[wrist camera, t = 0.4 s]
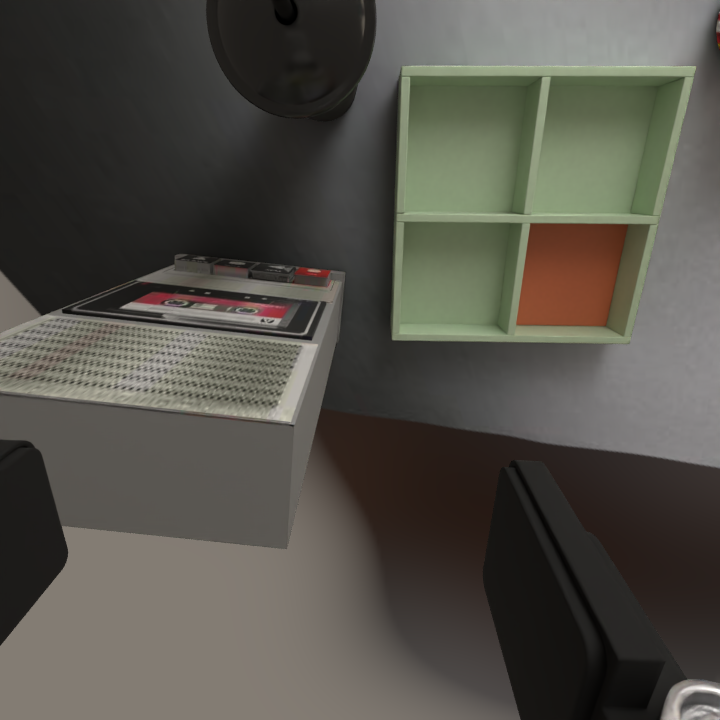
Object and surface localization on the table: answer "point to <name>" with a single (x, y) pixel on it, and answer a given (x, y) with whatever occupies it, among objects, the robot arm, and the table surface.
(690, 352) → the table surface
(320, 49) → the drinking cup
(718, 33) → the soda can
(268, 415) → the cassette tape recorder
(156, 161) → the table surface
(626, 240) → the cup tray
